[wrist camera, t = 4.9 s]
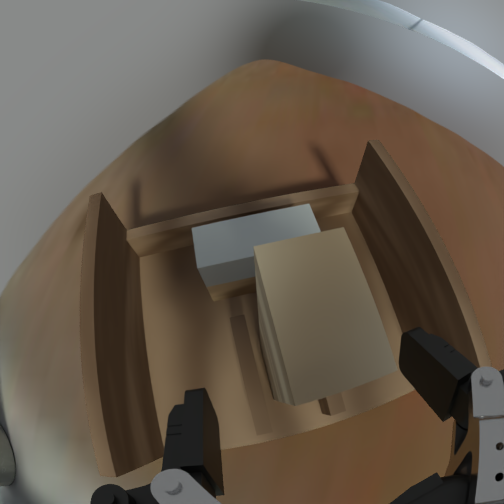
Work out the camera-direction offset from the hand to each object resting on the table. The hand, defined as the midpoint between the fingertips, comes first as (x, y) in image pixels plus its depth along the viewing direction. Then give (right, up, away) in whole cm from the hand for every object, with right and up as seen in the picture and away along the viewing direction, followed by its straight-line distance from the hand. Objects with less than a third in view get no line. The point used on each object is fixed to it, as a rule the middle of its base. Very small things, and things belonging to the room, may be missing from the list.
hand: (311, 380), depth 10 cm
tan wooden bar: (0, -4, +10) cm, 10 cm away
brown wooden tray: (-1, -1, +12) cm, 13 cm away
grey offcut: (-2, +5, +11) cm, 12 cm away
